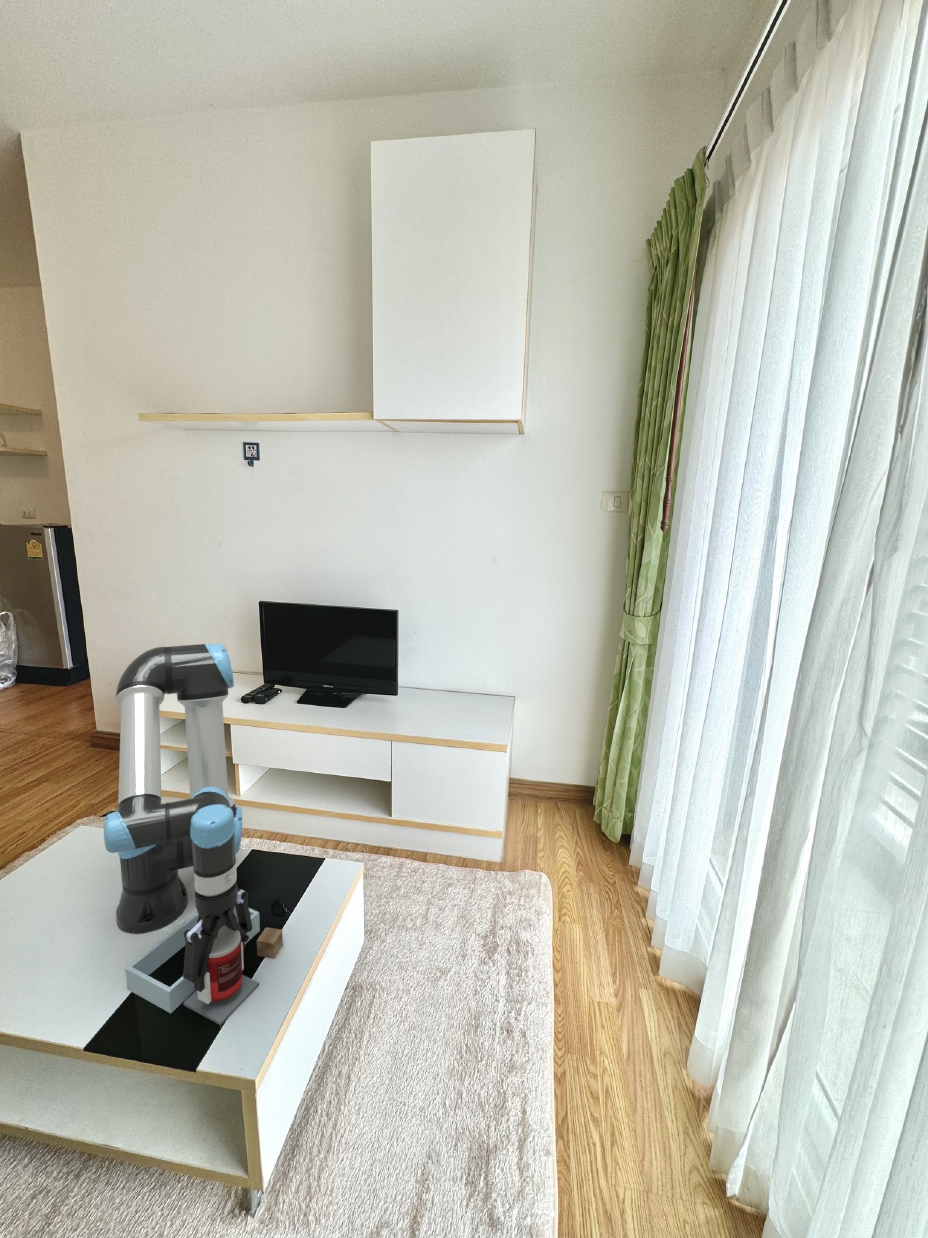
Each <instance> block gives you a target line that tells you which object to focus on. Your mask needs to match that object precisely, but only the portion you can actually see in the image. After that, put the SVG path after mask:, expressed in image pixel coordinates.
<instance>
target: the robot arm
mask: <svg viewBox="0 0 928 1238" xmlns="http://www.w3.org/2000/svg"><path fill="white" fill-rule="evenodd" d="M230 660H231V659H230V655H229V652H228V649H227V647H226V646H225V645H224V644H222V643H206V642H205V643H199V644H188V645H177V646H176V645H175V646H174V645H173V646H158V647H154V648H150V649H149V650H146V651H144V652H143V653H141V654H140V655H138V656H137V657H136V658H135V659H134V660H132V662H130V664H128V666H126V668H125V670H124V672H122V674H121V676H120V679H119V681H118V684H117V686H116V696H115V703H116V705H117V706H118V707H120V732H119V733H120V735H119V736H120V738H119V740H120V741H119V767H118V768H119V769H118V770H119V771H118V799H117V800H118V802H117V806H118V808H117V811H114V812H111V813H108V814H107V815H106V816H105V818H104V823H103V840H104V846H105V847H104V848H105V849H106V852H108V853H111V854H115V853H117V854H118V857H119V863H120V864H119V865H120V873H121V885H122V891H121V894H120V895H121V896H120V898H119V902H118V905H117V908H116V911H115V915H116V916H115V917H116V925H117V927H118V928H119V929H120V930H121V931H123V932H125V933H130V934H144V933H149V932H152V931H157V930H159V929H162V928H164V927H166V926H168V925H170V924H171V923H173V922H175V920H177V919H178V918H179V917H180V916H181V915H182V914H183V913H184V912H185V910H186V908H187V906H188V903H189V899H188V898H189V897H188V896H189V895H188V889H187V888H186V886H185V884H184V882H183V880H182V878H181V877H180V875H179V870H182V869H186V868H191V867H193V869H192V870H193V887H194V898H195V899H194V900H195V902H194V903H195V909H196V911H197V912H198V914H199V916H198V919H197V925H196V926H195V927H194V928H193V929H192V930H189V929H187V930H186V931H185V932H184V938H185V941H186V945H185V946H184V962H183V972H182V973H183V974H182V976H183V978H184V979H186V980H188V981H190V982H192V983H194V988H195V990H196V991H197V992H198V999H199V1000H201V1001H203V1002H205V1003H207V1004H209V1003H210V1002H211V989H210V973H208V972H206V970H207V966H208V962H209V955H210V954H211V950H212V946H213V942H214V940H215V939H216V938H217V935H218V931H219V930H220V929H221V927H222V926H227V927H228V928H230V929H232V930H234V931H237V930H238V931H239V932H240V936H241V953H242V971H244V970H245V969H244V968H245V965H244V964H245V963H244V952H245V951H246V944H245V942H247V941H248V939H249V936H248V935H246V934H247V932H250V931H251V930H252V922H251V917H250V912H249V908H250V907H249V903H248V900H249V892H247V891H245V890H244V889H240V888H238V880H237V876H238V874H237V873H238V872H237V859H236V854H238V852H239V851H240V848H241V844H242V836H243V810H242V807H241V806H236V800H235V799H233V798H232V797H231V796H229V790H228V788H229V787H228V785H229V784H228V773H227V771H228V770H227V757H226V755H227V753H226V739H225V737H226V736H225V725H224V723H225V721H224V708H223V707H224V704H223V703H224V701H225V700H226V699H227V698H228V697H229V689H232V688H233V687H234V686H235V681H234V674H233V670H232V665H231V661H230ZM170 694H171V695H173V694H176V699H177V700H176V701H177V702H178V703H180V704H181V705H182V706H183V707H184V717H185V733H186V750H187V763H188V764H187V766H188V767H187V768H188V783H189V785H188V786H189V798H187V799H180V800H176V801H172V802H171V801H170V802H165V803H162V767H161V765H162V763H161V755H162V754H161V716H160V715H161V712H160V711H161V709H160V707H161V704H162V703H163V702H164V700H165V695H170ZM234 907H235V908H236V913H237V917H236V916H235V914H234V911H233V910H234ZM237 918H238V921H237ZM238 922H239V923H238ZM248 942H249V941H248ZM248 942H247V943H248Z"/></svg>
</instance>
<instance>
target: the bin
mask: <svg viewBox="0 0 928 1238" xmlns="http://www.w3.org/2000/svg"><path fill="white" fill-rule="evenodd" d="M233 911H234V914H235V916H236V917H237V913H236V908H235V907H234V910H233ZM249 912H250V917H251V922H252V930H251V931H250V932H247V934H246V935H248V936H249V939H248V941H247V942H245V945H246V944H247V943H248V942H249V941H251V939H253V937H255V936H256V935H257V934H258V933H260V931H261V929H260V926H261V925H260V912H259V911H257V910H256V909H255V910H254V909H253V908H250V907H249ZM198 916H199V914H198V911H197V912H196V913H195V914H193V915H192V916H191V917H189V918H188V919H187V920H186V921H184V922H183V923H182V924H181V925H179V926H178V927H176V928H175V929H174V930H173V931H171V932H170V933H169V934H167V935H166V936H165V937H164V938H163V939H162V940H160V941H159V942H157V943H156V944H155V945H154V946H152V947H151V948H150V949H149V950H147V951H145V953H144V954H142V955H140V956H139V957H138V958H137V959H135V960H134V961H133V962H132V963H130V964H129V965H128V966H126V968H124V969H125V979H126V989H127V990H128V991H130V992H131V993H133V994H134V995H137V996H138V997H140V998H142V999H144V1000H146V1001H147V1002H149V1003H150V1004H152V1005H155V1006H156V1007H158V1008H160V1009H162V1010H163V1011H165V1012H167V1013H168V1014H172V1013H173V1012H174V1011H175V1010H176V1009H177V1008H179V1006H181V1005H182V1003H184V1002H185V1001H186V1000H187V999H188V998H189V997H190V996H191V995H192V994H193V993H194V992H196V991H197V990H195V988H194V983H192V982H190V981H188V980H186V979H184V978H183V975H182V976H181V977H180V978H179V979H177V981H175V982H174V983H173V984H171V986H169V985H166V984H164V983H163V982H161V981H159V980H157V979H155V978H153V977H152V976H150V975H151V974H152V973H153V972H154V971H156V970H157V969H159V967H161V966H163V964H164V963H166V962H167V961H168V960H169V959H170V958H172V957H173V956H174V955H176V954H177V953H178V952H179V951H180V950H181V949H182V948H185V946H186V941H185V938H184V932H185V931H186V930H187V929H189V930H192V929H193V928H194V927H195V926H196V925H197V919H198ZM237 921H238V918H237ZM238 923H239V922H238Z"/></svg>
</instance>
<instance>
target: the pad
mask: <svg viewBox="0 0 928 1238" xmlns="http://www.w3.org/2000/svg"><path fill="white" fill-rule="evenodd" d="M258 987H260V982H259V981H256V980H254V979H252V978H250V977H248V976H247V975H244V974H242V982H241V986H240V988H239V989H238V991H237V992H236V993H235V994H234V995H232V996H231V997H229V998H227V999H225V1000H222V1001H215V1002H214V1001H211V1002H210V1003H209V1004H207V1003H205V1002H203V1001H201V1000H199V999H198V992H197V990H196V991H194V992H193V993H192V994H191V995H190V996H189V997H188V998H187V999H186V1000H185V1001H184V1002H183V1006H184V1007H186V1008H188V1009H189V1010H191V1011H192V1012H195V1013H196V1014H199V1015H201V1016H203V1017H204V1018H206V1019H208V1020H210V1021H212V1022H213V1023H215V1024H217V1025H219V1026H222V1025H223V1024H224V1023H225V1022H226V1021H227V1020H228V1019H229V1018H230V1017H231V1015H232V1014H233V1013H235V1011H236V1010H237V1009H238V1008H240V1006H242V1004H243V1003H244V1002H245V1001H246V1000H247V999H248V998H249V997H250V996H251V995H252V994H253V992H254V991H255V990H256V989H257V988H258Z"/></svg>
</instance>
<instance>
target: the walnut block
mask: <svg viewBox="0 0 928 1238" xmlns="http://www.w3.org/2000/svg"><path fill="white" fill-rule="evenodd" d="M283 942H284V939H283V929H279V928H272V927H265V928H264V930H263V931H262V932H261V934H260V935H259V937H258V939H257V940H256V951H257V952H256V955H257V957H262V958H267V959H273V960H274V959H276V957H277V955H278V954H279V951H280V950H281V948H282V947H283V944H284V943H283Z"/></svg>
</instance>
